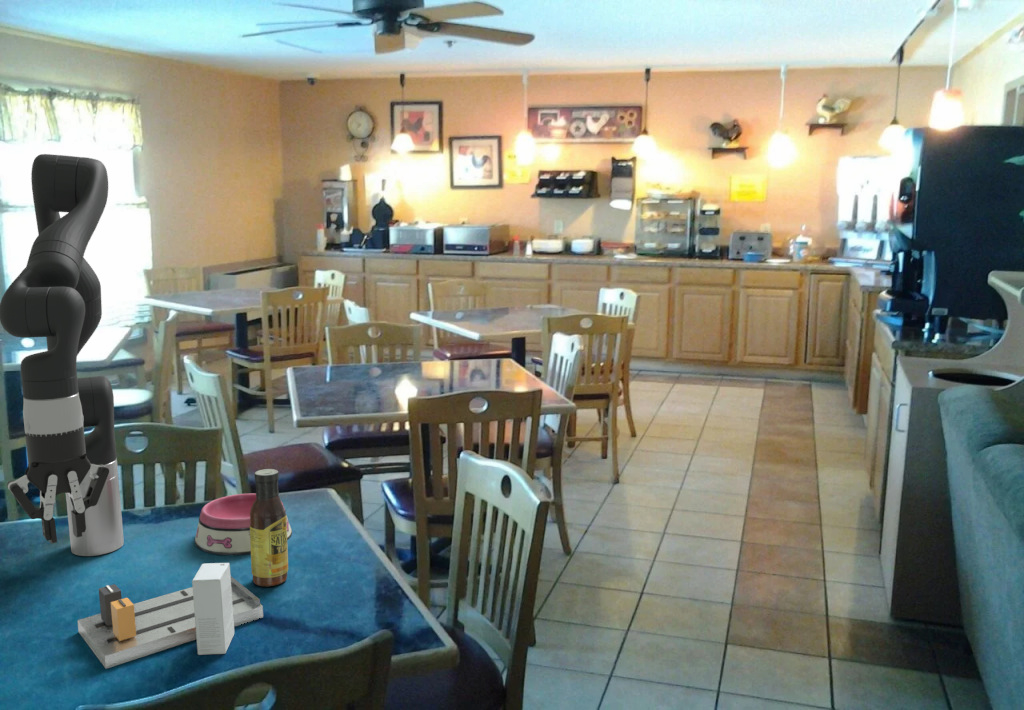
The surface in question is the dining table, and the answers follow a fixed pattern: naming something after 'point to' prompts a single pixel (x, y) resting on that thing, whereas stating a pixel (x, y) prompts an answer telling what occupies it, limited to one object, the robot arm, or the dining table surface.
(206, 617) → the skincare box
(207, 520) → the dog bowl
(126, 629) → the fader orange
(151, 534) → the dining table surface
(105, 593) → the block
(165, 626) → the console
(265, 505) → the sauce bottle
